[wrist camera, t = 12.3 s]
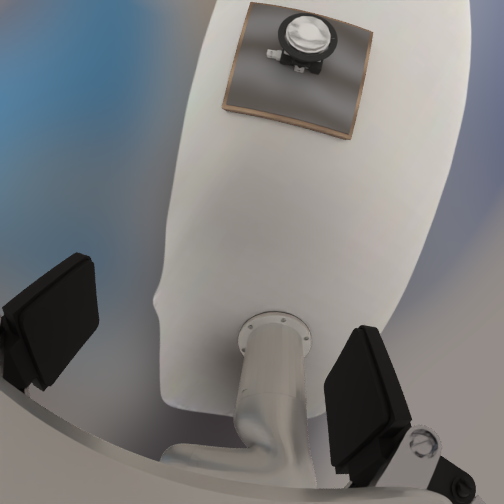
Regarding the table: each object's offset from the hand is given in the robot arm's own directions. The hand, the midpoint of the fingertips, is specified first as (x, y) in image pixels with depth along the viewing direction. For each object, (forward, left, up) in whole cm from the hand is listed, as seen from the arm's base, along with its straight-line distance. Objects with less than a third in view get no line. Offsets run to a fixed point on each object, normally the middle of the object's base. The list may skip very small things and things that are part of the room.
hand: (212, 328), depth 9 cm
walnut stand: (+17, -1, -30) cm, 35 cm away
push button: (+17, 0, -26) cm, 31 cm away
